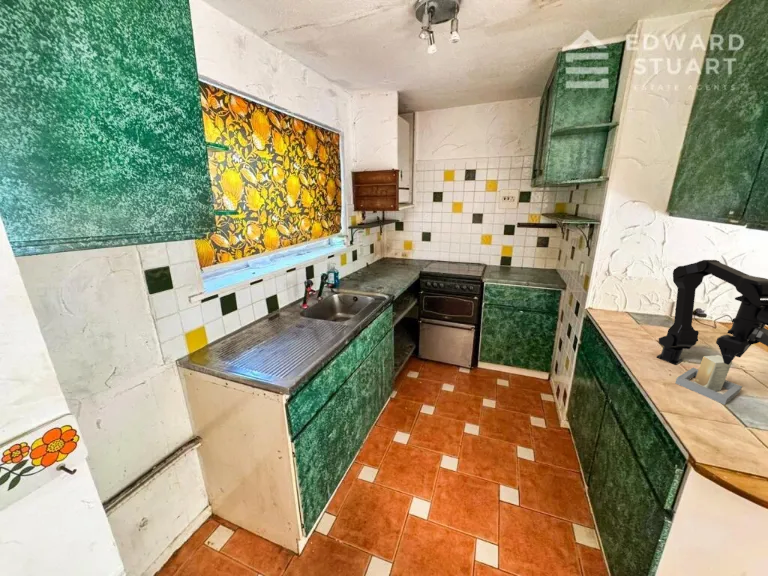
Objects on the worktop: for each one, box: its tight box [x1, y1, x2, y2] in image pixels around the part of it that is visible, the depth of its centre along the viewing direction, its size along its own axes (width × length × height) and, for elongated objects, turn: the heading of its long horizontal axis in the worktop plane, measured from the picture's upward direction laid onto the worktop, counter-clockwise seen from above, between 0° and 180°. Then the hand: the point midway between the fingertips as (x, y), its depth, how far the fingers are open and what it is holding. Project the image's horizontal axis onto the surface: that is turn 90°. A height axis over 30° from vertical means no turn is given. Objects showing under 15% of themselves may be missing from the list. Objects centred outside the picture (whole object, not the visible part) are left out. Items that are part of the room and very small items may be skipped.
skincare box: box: [693, 354, 733, 392], centre depth 107 cm, size 6×4×12 cm
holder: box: [675, 367, 743, 405], centre depth 109 cm, size 13×13×2 cm
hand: (732, 360), depth 102 cm, fingers open, 9 cm apart
